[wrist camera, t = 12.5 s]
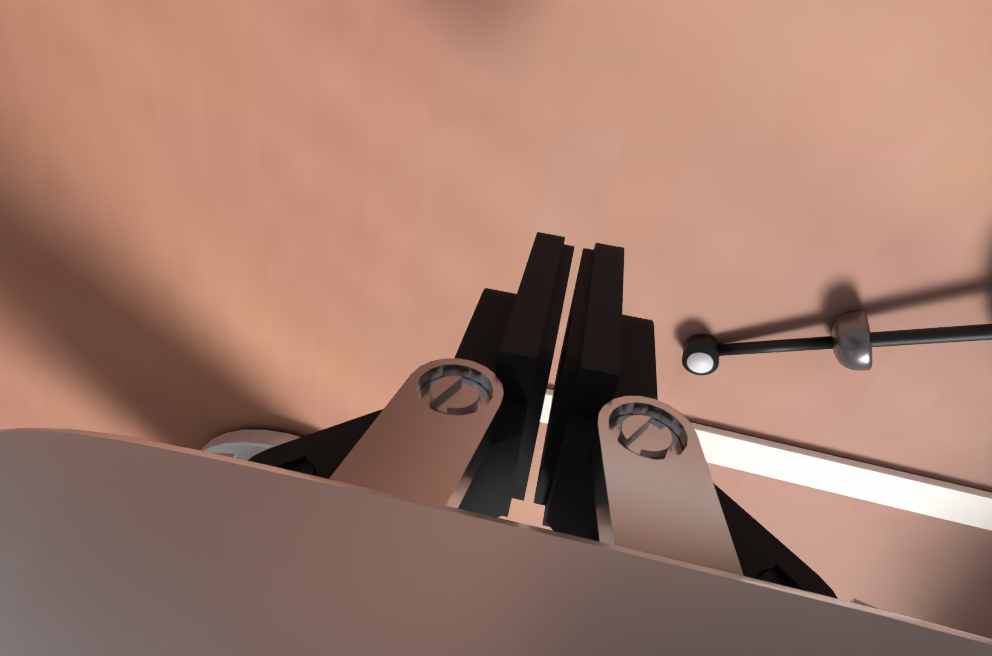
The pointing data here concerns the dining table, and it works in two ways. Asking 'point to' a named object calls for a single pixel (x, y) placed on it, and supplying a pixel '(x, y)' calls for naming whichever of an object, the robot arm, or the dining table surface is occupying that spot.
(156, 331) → the dining table surface
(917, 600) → the dining table surface
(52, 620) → the robot arm
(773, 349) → the robot toy
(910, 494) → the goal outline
